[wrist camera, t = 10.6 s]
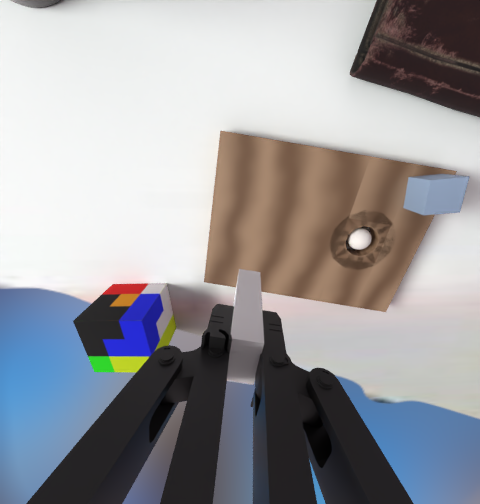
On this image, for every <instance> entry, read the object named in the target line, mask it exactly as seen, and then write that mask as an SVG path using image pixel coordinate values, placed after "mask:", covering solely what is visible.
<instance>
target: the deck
mask: <svg viewBox="0 0 480 504" xmlns="http://www.w3.org/2000/svg"><path fill="white" fill-rule="evenodd" d="M456 172H457V171H452V170H446V169H441V168H435V167H429V166H423V165H417V164H412V163H406V162H400V161H394V160H388V159H382V158H377V157H371V156H365V155H359V154H353V153H347V152H342V151H336V150H330V149H324V148H318V147H313V146H307V145H301V144H295V143H289V142H283V141H278V140H272V139H266V138H260V137H254V136H248V135H243V134H237V133H231V132H225V131H220V140H219V150H218V159H217V168H216V177H215V186H214V195H213V205H212V214H211V223H210V232H209V241H208V251H207V260H206V269H205V278H204V282H207V283H213V284H219V285H225V286H231V287H236V285H237V279H238V273H239V269H243V270H250V271H256V272H260V277H261V292H267V293H274V294H280V295H286V296H292V297H298V298H304V299H310V300H316V301H322V302H328V303H334V304H340V305H346V306H352V307H358V308H364V309H370V310H377V311H383V312H386V310H387V308H388V306H389V304H390V302H391V300H392V298H393V296H394V294H395V293H396V291H397V289H398V287H399V285H400V283H401V281H402V279H403V277H404V275H405V273H406V271H407V269H408V267H409V265H410V263H411V261H412V259H413V257H414V255H415V253H416V251H417V249H418V247H419V245H420V243H421V241H422V239H423V237H424V235H425V233H426V231H427V229H428V227H429V225H430V223H431V221H432V219H433V217H434V215H435V214H433V215H421V214H418V213H416V212H413V211H410V210H407V209H405V208H403V207H404V201H405V195H406V189H407V183H408V178H409V177H414V176H424V175H434V174H450V175H455V174H456ZM363 226H366V227H370V232H371V243H370V244H369V246H367V247H366V248H364V249H360V250H359V249H355V250H351V249H347V248H346V240H347V237H348V235H349V234H350V233H351V232H352V231H353V230H354V229H357V228H360V227H363Z"/></svg>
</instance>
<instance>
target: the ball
mask: <svg viewBox="0 0 480 504" xmlns="http://www.w3.org/2000/svg"><path fill="white" fill-rule="evenodd" d="M347 242H348V244H349V245H350V246H351V247H352V248H354V249H359V250H360V249H364V248H366V247H367V246H369V244H370V243H371V234H370V232H369V231H368V230H366V229H364V228H357V229H354V230H353V231H352V232H351V233H350V234H349V235H348V237H347Z"/></svg>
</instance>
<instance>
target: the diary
mask: <svg viewBox="0 0 480 504" xmlns="http://www.w3.org/2000/svg"><path fill="white" fill-rule="evenodd" d="M350 75H351V76H352V77H356V78H359V79H362V80H365V81H369V82H372V83H376V84H379V85H382V86H386V87H389V88H392V89H396V90H399V91H402V92H406V93H409V94H411V95H414V96H417V97H420V98H423V99H426V100H428V101H431V102H434V103H437V104H440V105H443V106H445V107H448V108H451V109H454V110H457V111H461V112H464V113H468V114H471V115H475V116H478V117H480V0H377V1H376V4H375V7H374V9H373V12H372V15H371V17H370V20H369V23H368V25H367V28H366V31H365V33H364V36H363V39H362V41H361V44H360V47H359V49H358V53H357V55H356V57H355V60H354V63H353V65H352V68H351V70H350Z"/></svg>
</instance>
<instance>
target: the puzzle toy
mask: <svg viewBox="0 0 480 504" xmlns="http://www.w3.org/2000/svg"><path fill="white" fill-rule="evenodd" d="M73 322H74V324H75V327H76V329H77V331H78V334H79V336H80V338H81V341H82V343H83V346H84V348H85V350H86V353H87V355H88V357H89V360H90V362H91V365H92V367H93V369H94V372H137V371H138V370H139V369H140V368H141V366H142V365H143V364H144V363H145V362H146V361H147V359H148V358H149V357H150V356H151V355H152V353H153V352H154V351H156V350H157V349H158V348H160V347H163V346H168V345H169V342H170V341H171V338H172V336H173V334H174V331H175V329H176V325H175V320H174V315H173V310H172V305H171V301H170V296H169V291H168V286H167V283H153V284H113V285H112V286H111V287H109V288H108V289H107V290H106V291H105V292H104V293H103V294H102V295H101V296H100V297H99V298H98V299H97V300H95V301H94V302H93V303H92V304H91V305H90V306H89V307H88V308H87V309H86V310H85V311H84V312H82V313H81V314H80V315H79V316H78V317H77V318H76V319H75V320H74V321H73Z"/></svg>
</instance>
